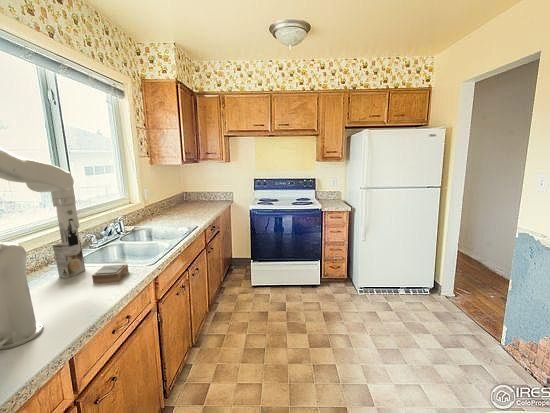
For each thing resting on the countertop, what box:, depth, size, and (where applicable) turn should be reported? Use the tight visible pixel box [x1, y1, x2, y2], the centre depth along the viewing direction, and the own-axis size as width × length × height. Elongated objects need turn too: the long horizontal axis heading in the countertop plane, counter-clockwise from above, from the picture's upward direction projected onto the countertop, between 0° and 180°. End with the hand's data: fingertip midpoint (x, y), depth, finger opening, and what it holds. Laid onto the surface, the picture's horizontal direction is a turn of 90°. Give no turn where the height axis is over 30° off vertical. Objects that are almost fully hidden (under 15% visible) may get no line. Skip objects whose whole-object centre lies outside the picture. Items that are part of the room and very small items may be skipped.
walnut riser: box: [91, 263, 129, 284], centre depth 131 cm, size 11×11×4 cm
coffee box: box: [52, 241, 86, 279], centre depth 136 cm, size 9×6×16 cm
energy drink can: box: [58, 222, 82, 256], centre depth 116 cm, size 6×6×15 cm
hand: (71, 243), depth 117 cm, fingers closed on energy drink can, 6 cm apart
